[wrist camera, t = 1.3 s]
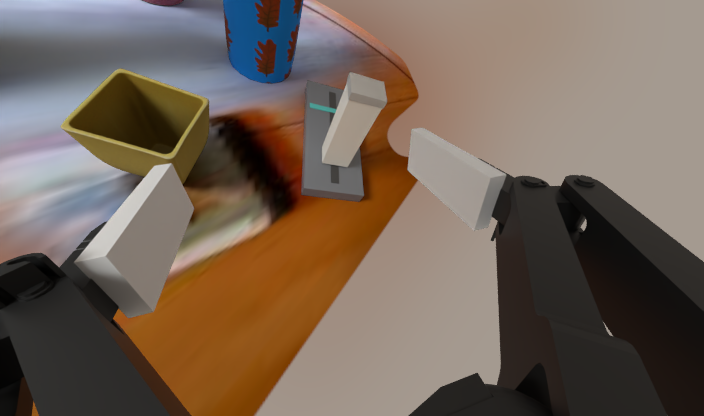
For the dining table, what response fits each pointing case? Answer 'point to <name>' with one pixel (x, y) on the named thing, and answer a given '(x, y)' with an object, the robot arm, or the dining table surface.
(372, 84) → the fader tab
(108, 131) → the flower pot
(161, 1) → the plant pot
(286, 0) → the thermos
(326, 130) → the console
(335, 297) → the dining table surface
